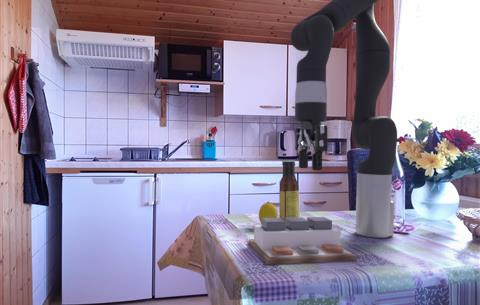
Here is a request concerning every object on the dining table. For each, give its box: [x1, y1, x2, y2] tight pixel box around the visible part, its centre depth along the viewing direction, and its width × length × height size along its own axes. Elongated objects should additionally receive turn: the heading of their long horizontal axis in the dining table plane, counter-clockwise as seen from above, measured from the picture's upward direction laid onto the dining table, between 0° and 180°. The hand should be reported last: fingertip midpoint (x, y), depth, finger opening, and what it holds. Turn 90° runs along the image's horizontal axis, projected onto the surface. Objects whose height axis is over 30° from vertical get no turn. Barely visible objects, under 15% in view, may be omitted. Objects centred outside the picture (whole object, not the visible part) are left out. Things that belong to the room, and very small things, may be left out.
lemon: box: [258, 201, 279, 223], centre depth 103 cm, size 6×6×8 cm
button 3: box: [260, 217, 285, 231], centre depth 81 cm, size 4×4×4 cm
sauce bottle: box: [278, 160, 300, 221], centre depth 112 cm, size 7×6×20 cm
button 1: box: [306, 216, 333, 230], centre depth 84 cm, size 4×4×4 cm
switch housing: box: [253, 224, 342, 251], centre depth 83 cm, size 19×8×4 cm, turn 102°
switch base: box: [248, 238, 358, 266], centre depth 81 cm, size 20×16×2 cm
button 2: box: [285, 216, 309, 230], centre depth 83 cm, size 4×4×4 cm
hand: (309, 169), depth 85 cm, fingers open, 8 cm apart
